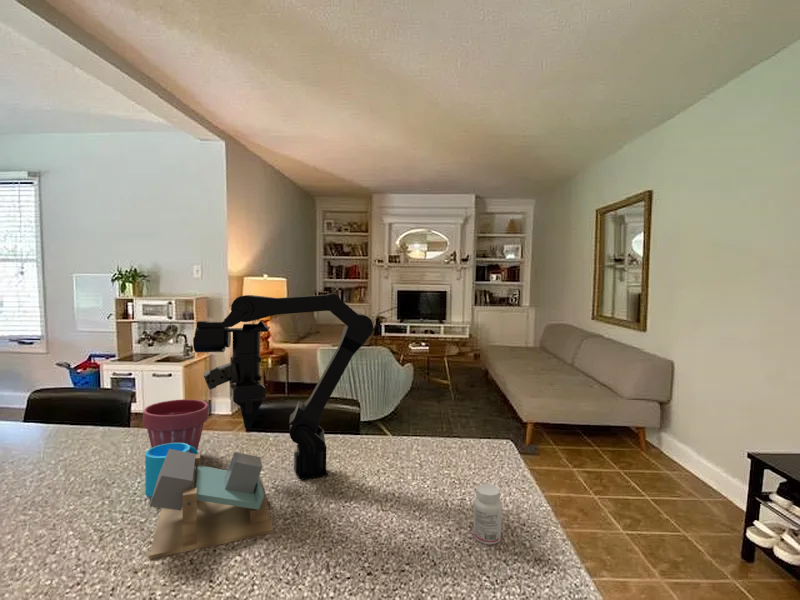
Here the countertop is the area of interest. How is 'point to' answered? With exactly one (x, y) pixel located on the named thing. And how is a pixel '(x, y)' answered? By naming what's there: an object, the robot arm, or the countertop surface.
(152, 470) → the mug
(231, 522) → the frame
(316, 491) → the countertop surface
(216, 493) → the trapdoor
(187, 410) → the plant pot
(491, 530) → the pill bottle
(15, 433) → the countertop surface
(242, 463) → the gray cube
